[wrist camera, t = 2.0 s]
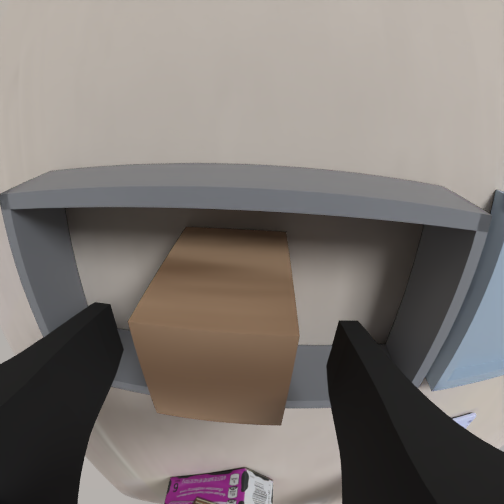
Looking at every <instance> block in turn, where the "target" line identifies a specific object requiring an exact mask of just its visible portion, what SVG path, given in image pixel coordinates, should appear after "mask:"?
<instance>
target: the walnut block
mask: <svg viewBox="0 0 504 504" xmlns="http://www.w3.org/2000/svg"><path fill="white" fill-rule="evenodd" d="M128 324H129V328H130V332H131V335H132V339H133V342H134V346H135V349H136V353H137V356H138V359H139V362H140V366H141V369H142V372H143V375H144V378H145V381H146V384H147V387H148V390H149V392H150V395H151V398H152V401H153V404H154V406H155V409H156V412H157V413H160V414H166V415H172V416H178V417H184V418H191V419H199V420H207V421H216V422H227V423H239V424H255V425H281V423H282V419H283V414H284V410H285V405H286V401H287V396H288V392H289V387H290V382H291V377H292V372H293V368H294V362H295V357H296V352H297V347H298V342H299V327H298V319H297V310H296V302H295V294H294V286H293V278H292V270H291V263H290V256H289V248H288V241H287V234H286V232H283V231H265V230H245V229H225V228H202V227H186V228H185V229H184V231H183V232H182V234H181V235H180V237H179V238H178V240H177V242H176V243H175V245H174V246H173V248H172V249H171V251H170V253H169V254H168V256H167V257H166V259H165V260H164V262H163V264H162V265H161V267H160V268H159V270H158V272H157V273H156V275H155V277H154V278H153V280H152V281H151V283H150V285H149V286H148V288H147V290H146V291H145V293H144V295H143V296H142V298H141V300H140V302H139V303H138V305H137V307H136V308H135V310H134V312H133V314H132V315H131V317H130V319H129V320H128Z"/></svg>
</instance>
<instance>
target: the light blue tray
mask: <svg viewBox="0 0 504 504" xmlns="http://www.w3.org/2000/svg"><path fill="white" fill-rule="evenodd" d="M491 215H492V219H491V223H490V227H489V230H488V234H487V237H486V241H485V244H484V247H483V250H482V253H481V256H480V259H479V262H478V265H477V268H476V271H475V273H474V276H473V279H472V281H471V284H470V286H469V289H468V291H467V294H466V296H465V299H464V301H463V303H462V306H461V308H460V310H459V313H458V315H457V317H456V319H455V321H454V323H453V325H452V328H451V330H450V332H449V334H448V336H447V338H446V340H445V342H444V344H443V346H442V347H441V349H440V351H439V353H438V355H437V357H436V359H435V360H434V362H433V364H432V366H431V367H430V369H429V371H428V373H427V374H426V376H425V377H426V379H427V381H428V384H429V386H430V388H431V391H437V390H442V389H448V388H453V387H457V386H462V385H466V384H471V383H475V382H479V381H483V380H487V379H491V378H494V377H498V376H501V375H504V192H503V191H499V190H496V192H495V197H494V201H493V205H492V209H491Z"/></svg>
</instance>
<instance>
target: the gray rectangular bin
mask: <svg viewBox="0 0 504 504" xmlns="http://www.w3.org/2000/svg"><path fill="white" fill-rule="evenodd" d="M0 205H1V210H2V215H3V219H4V224H5V228H6V232H7V236H8V240H9V244H10V247H11V251H12V255H13V258H14V261H15V265H16V268H17V271H18V274H19V277H20V280H21V283H22V286H23V289H24V291H25V294H26V297H27V299H28V302H29V305H30V307H31V310H32V312H33V314H34V317H35V319H36V322H37V324H38V326H39V329H40V331H41V333H42V335H43V337H45V336H46V335H48V334H49V333H51V332H52V331H53V330H55V329H56V328H58V327H59V326H60V325H62V324H63V323H65V322H66V321H68V320H69V319H70V318H72V317H73V316H75V315H76V314H78V313H79V312H81V311H82V310H84V309H85V308H87V307H88V305H87V302H86V299H85V295H84V292H83V288H82V285H81V281H80V277H79V273H78V270H77V266H76V262H75V257H74V253H73V249H72V244H71V239H70V235H69V230H68V224H67V219H66V213H65V208H69V207H161V208H201V209H228V210H251V211H270V212H287V213H303V214H317V215H330V216H343V217H355V218H367V219H377V220H388V221H398V222H408V223H417V224H424V227H423V231H422V235H421V239H420V243H419V247H418V251H417V254H416V258H415V261H414V265H413V268H412V271H411V275H410V278H409V281H408V284H407V287H406V290H405V293H404V296H403V299H402V302H401V305H400V308H399V311H398V313H397V316H396V319H395V322H394V324H393V327H392V329H391V332H390V334H389V337H388V339H387V342H386V344H378V345H379V346H380V348H381V349H382V350H383V351H384V352H385V353H386V355H387V356H388V357H389V358H390V359H391V360H392V362H393V363H394V364H395V365H396V366H397V367H398V368H399V369H400V371H401V372H402V373H403V374H404V375H405V376H406V377H407V378H408V379H409V380H410V381H411V382H412V383H413V384H414V385H415V386H416V387H417V388H418V387H419V386H420V384H421V383H422V381H423V379H424V378H425V376H426V374H427V373H428V371H429V369H430V367H431V366H432V364H433V362H434V360H435V359H436V357H437V355H438V353H439V351H440V349H441V347H442V346H443V344H444V342H445V340H446V338H447V336H448V334H449V332H450V330H451V328H452V325H453V323H454V321H455V319H456V317H457V315H458V313H459V310H460V308H461V306H462V303H463V301H464V299H465V296H466V294H467V291H468V289H469V286H470V284H471V281H472V279H473V276H474V273H475V271H476V268H477V265H478V262H479V259H480V256H481V253H482V250H483V247H484V244H485V241H486V237H487V234H488V230H489V227H490V223H491V219H492V215H491V214H489V213H487V212H486V211H484V210H483V209H481V208H480V207H478V206H476V205H475V204H473V203H471V202H470V201H468V200H466V199H465V198H463V197H461V196H459V195H458V194H456V193H454V192H452V191H451V190H449V189H447V188H445V187H443V186H438V185H433V184H427V183H422V182H416V181H410V180H403V179H397V178H390V177H383V176H376V175H369V174H361V173H352V172H343V171H334V170H324V169H313V168H301V167H287V166H271V165H250V164H216V163H169V164H135V165H116V166H100V167H87V168H76V169H65V170H56V171H49V172H47V173H45V174H42V175H40V176H38V177H35V178H33V179H31V180H28V181H26V182H24V183H22V184H20V185H18V186H15V187H13V188H11V189H9V190H7V191H5V192H3V193H1V194H0ZM117 329H118V328H117ZM118 333H119V336H120V339H121V342H122V345H123V348H124V350H123V354H122V357H121V361H120V364H119V367H118V370H117V373H116V376H115V378H114V381H113V383H112V385H111V387H115V388H119V389H124V390H128V391H133V392H138V393H143V394H148V395H150V392H149V390H148V387H147V384H146V381H145V378H144V375H143V372H142V369H141V366H140V362H139V359H138V356H137V353H136V349H135V346H134V342H133V339H132V335H131V332H130V330H124V329H118ZM331 348H332V345H298V347H297V352H296V357H295V362H294V368H293V372H292V377H291V382H290V387H289V392H288V396H287V401H286V405H285V408H331V404H330V399H329V394H328V383H327V369H326V365H327V361H328V358H329V355H330V351H331Z"/></svg>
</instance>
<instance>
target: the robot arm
mask: <svg viewBox="0 0 504 504" xmlns="http://www.w3.org/2000/svg"><path fill="white" fill-rule="evenodd" d="M123 350H124V348H123V345H122V342H121V339H120V336H119V333H118V329H117V326H116V323H115V319H114V316H113V312H112V309H111V305H110V304H104V303H97V302H95V303H93V304H91V305H90V306H88V307H87V308H85V309H84V310H82V311H81V312H79V313H78V314H76V315H75V316H73V317H72V318H70V319H69V320H68V321H66V322H65V323H63V324H62V325H60V326H59V327H58V328H56V329H55V330H53V331H52V332H51V333H49V334H48V335H46V336H45V337H43V338H42V339H40V340H39V341H37V342H36V343H34V344H33V345H31V346H30V347H28V348H27V349H25V350H24V351H22V352H21V353H19V354H17V355H16V356H14V357H12V358H11V359H9V360H7V361H5V362H3V363H2V364H0V504H77V503H78V492H79V484H80V477H81V471H82V466H83V461H84V457H85V453H86V449H87V445H88V441H89V437H90V434H91V431H92V429H93V426H94V423H95V421H96V419H97V416H98V414H99V412H100V410H101V407H102V405H103V403H104V401H105V398H106V396H107V394H108V392H109V389H110V387H111V385H112V383H113V381H114V378H115V376H116V373H117V370H118V367H119V364H120V361H121V357H122V354H123ZM326 369H327V383H328V394H329V399H330V404H331V409H332V414H333V419H334V425H335V430H336V435H337V440H338V445H339V451H340V458H341V470H342V504H504V452H502V451H501V450H499V449H497V448H495V447H493V446H492V445H490V444H488V443H486V442H485V441H483V440H481V439H480V438H478V437H477V436H475V435H474V434H472V433H471V432H469V431H468V430H466V429H465V428H466V427H467V426H468V425H469V424H470V423H471V422H472V421H473V420H474V418H475V417H476V414H475V413H471V414H467V415H464V416H460V417H457V418H453V419H451V418H450V417H449V416H448V415H446V414H445V413H444V412H443V411H442V410H441V409H439V408H438V407H437V406H436V405H435V404H434V403H433V402H431V401H430V400H429V399H428V398H427V397H426V396H425V395H424V394H423V393H422V392H421V391H420V390H419V389H418V388H417V387H416V386H415V385H414V384H413V383H412V382H411V381H410V380H409V379H408V378H407V377H406V376H405V375H404V374H403V373H402V372H401V371H400V369H399V368H398V367H397V366H396V365H395V364H394V363H393V362H392V360H391V359H390V358H389V357H388V356H387V355H386V353H385V352H384V351H383V350H382V349H381V348H380V346H379V345H378V344H377V343H376V342H375V340H374V339H373V338H372V337H371V336H370V334H369V333H368V332H367V331H366V330H365V328H364V327H363V326H362V325H361V324H360V323H359V322H358V321H339V323H338V326H337V330H336V334H335V337H334V341H333V344H332V348H331V351H330V355H329V358H328V361H327V365H326Z"/></svg>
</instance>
